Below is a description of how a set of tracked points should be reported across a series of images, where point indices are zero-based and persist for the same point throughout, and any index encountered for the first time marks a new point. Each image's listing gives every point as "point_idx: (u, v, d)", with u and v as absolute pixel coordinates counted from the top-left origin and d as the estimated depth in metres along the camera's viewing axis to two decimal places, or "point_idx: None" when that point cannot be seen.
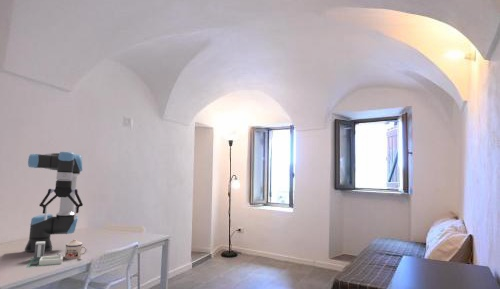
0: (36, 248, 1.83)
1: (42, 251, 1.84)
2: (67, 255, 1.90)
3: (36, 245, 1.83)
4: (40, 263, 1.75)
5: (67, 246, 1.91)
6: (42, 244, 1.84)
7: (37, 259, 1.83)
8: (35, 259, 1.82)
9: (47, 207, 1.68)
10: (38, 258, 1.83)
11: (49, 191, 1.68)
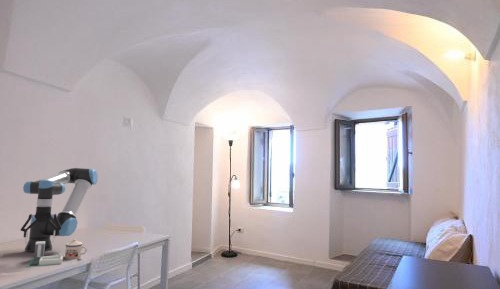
0: (36, 248, 1.83)
1: (42, 251, 1.84)
2: (67, 255, 1.90)
3: (36, 245, 1.83)
4: (40, 263, 1.75)
5: (67, 246, 1.91)
6: (42, 244, 1.84)
7: (37, 259, 1.83)
8: (35, 259, 1.82)
9: (28, 231, 1.83)
10: (38, 258, 1.83)
11: (30, 216, 1.83)
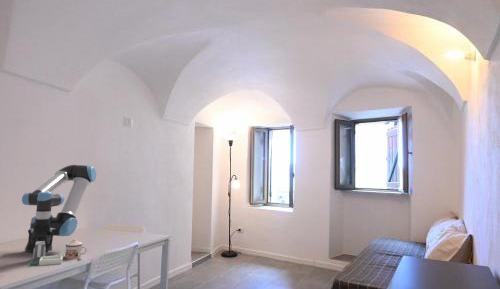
0: (36, 248, 1.83)
1: (42, 251, 1.84)
2: (67, 255, 1.90)
3: (36, 245, 1.83)
4: (40, 263, 1.75)
5: (67, 246, 1.91)
6: (42, 244, 1.84)
7: (37, 259, 1.83)
8: (35, 259, 1.82)
9: None
10: (38, 258, 1.83)
11: (29, 231, 1.83)
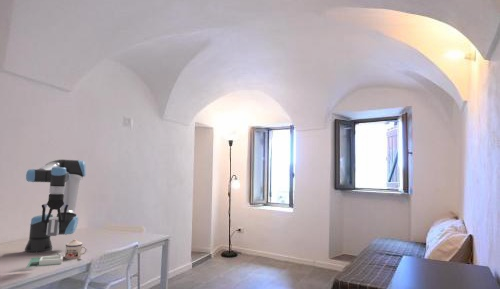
0: (50, 223, 1.80)
1: (56, 226, 1.81)
2: (67, 255, 1.90)
3: (50, 220, 1.80)
4: (40, 263, 1.75)
5: (67, 246, 1.91)
6: (56, 219, 1.81)
7: (51, 234, 1.80)
8: (49, 234, 1.79)
9: None
10: (52, 233, 1.80)
11: (43, 206, 1.80)
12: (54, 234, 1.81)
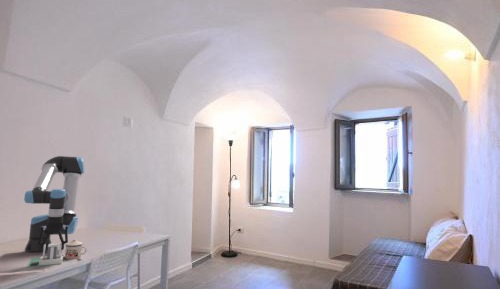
0: (49, 250, 1.79)
1: (55, 253, 1.80)
2: (67, 255, 1.90)
3: (49, 247, 1.79)
4: (40, 263, 1.75)
5: (67, 246, 1.91)
6: (55, 246, 1.80)
7: None
8: None
9: (45, 245, 1.80)
10: None
11: (42, 229, 1.79)
12: None
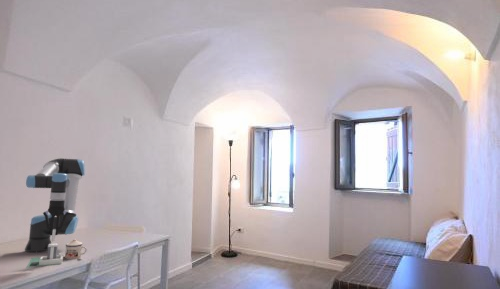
0: (49, 250, 1.79)
1: (55, 253, 1.80)
2: (67, 255, 1.90)
3: (49, 247, 1.79)
4: (40, 263, 1.75)
5: (67, 246, 1.91)
6: (55, 246, 1.80)
7: None
8: None
9: (54, 229, 1.82)
10: None
11: (45, 214, 1.80)
12: None
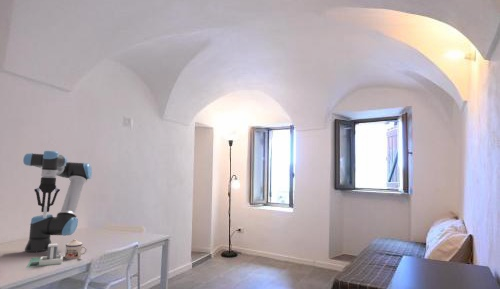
0: (49, 250, 1.79)
1: (55, 253, 1.80)
2: (67, 255, 1.90)
3: (49, 247, 1.79)
4: (40, 263, 1.75)
5: (67, 246, 1.91)
6: (55, 246, 1.80)
7: None
8: None
9: (45, 206, 1.84)
10: None
11: (36, 190, 1.81)
12: None
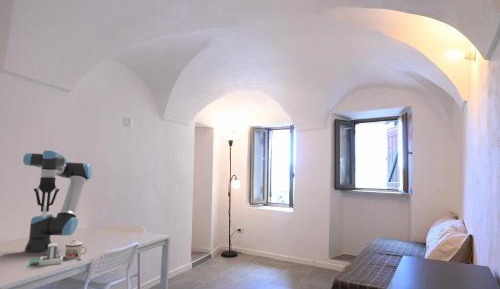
0: (49, 250, 1.79)
1: (55, 253, 1.80)
2: (67, 255, 1.90)
3: (49, 247, 1.79)
4: (40, 263, 1.75)
5: (67, 246, 1.91)
6: (55, 246, 1.80)
7: None
8: None
9: (45, 206, 1.83)
10: None
11: (35, 190, 1.81)
12: None
